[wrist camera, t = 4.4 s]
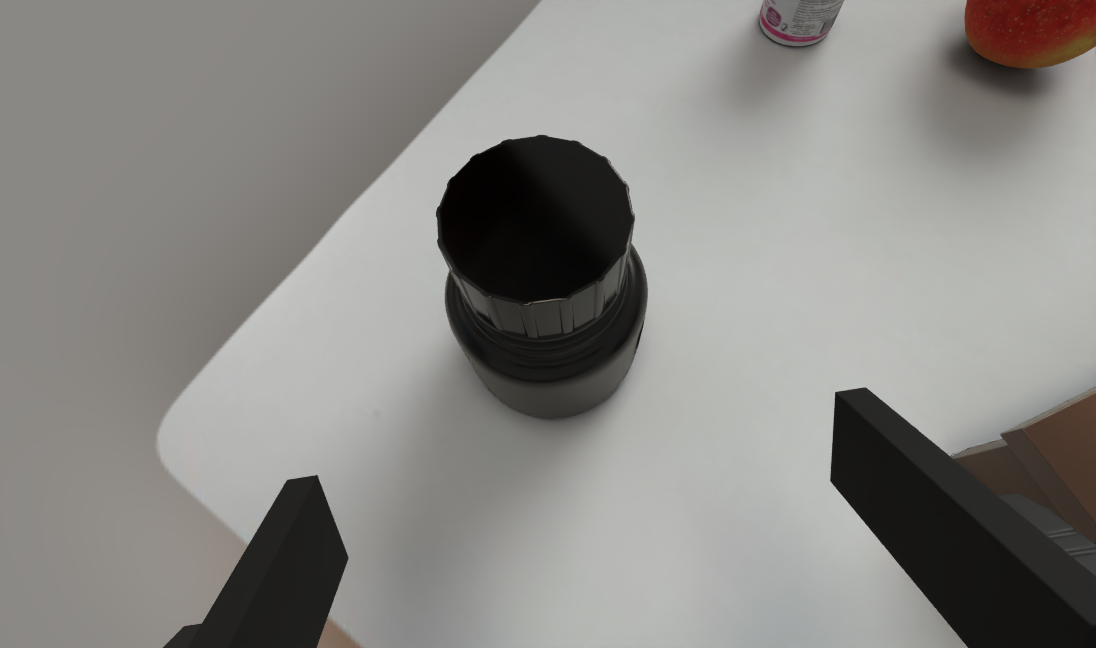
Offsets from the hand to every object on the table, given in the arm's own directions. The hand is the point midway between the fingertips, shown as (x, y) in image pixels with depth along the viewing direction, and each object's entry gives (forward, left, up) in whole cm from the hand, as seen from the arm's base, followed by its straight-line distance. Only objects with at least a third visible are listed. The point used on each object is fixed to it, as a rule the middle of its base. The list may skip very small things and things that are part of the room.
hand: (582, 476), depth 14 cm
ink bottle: (+2, +9, -14) cm, 16 cm away
